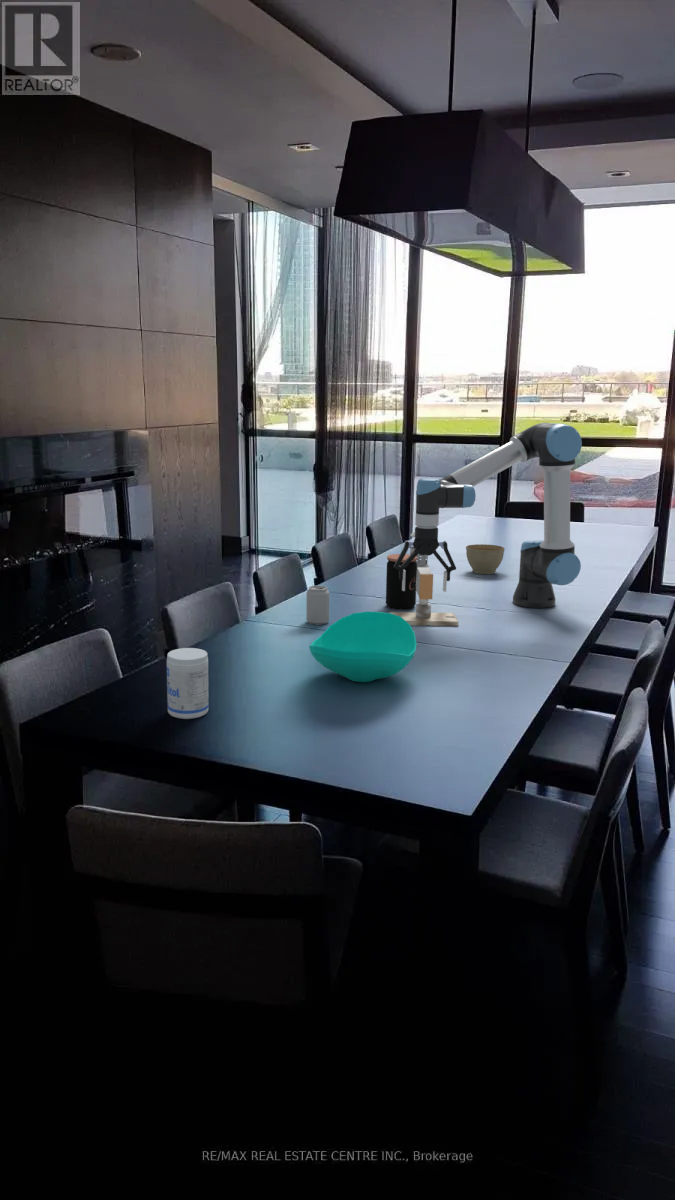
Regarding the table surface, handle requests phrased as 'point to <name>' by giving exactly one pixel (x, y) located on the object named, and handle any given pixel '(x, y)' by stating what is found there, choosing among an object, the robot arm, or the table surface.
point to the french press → (423, 557)
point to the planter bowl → (484, 557)
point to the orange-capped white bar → (424, 585)
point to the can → (317, 605)
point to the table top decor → (366, 646)
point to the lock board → (429, 621)
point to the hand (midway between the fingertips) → (423, 590)
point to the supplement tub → (187, 683)
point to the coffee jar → (394, 584)
